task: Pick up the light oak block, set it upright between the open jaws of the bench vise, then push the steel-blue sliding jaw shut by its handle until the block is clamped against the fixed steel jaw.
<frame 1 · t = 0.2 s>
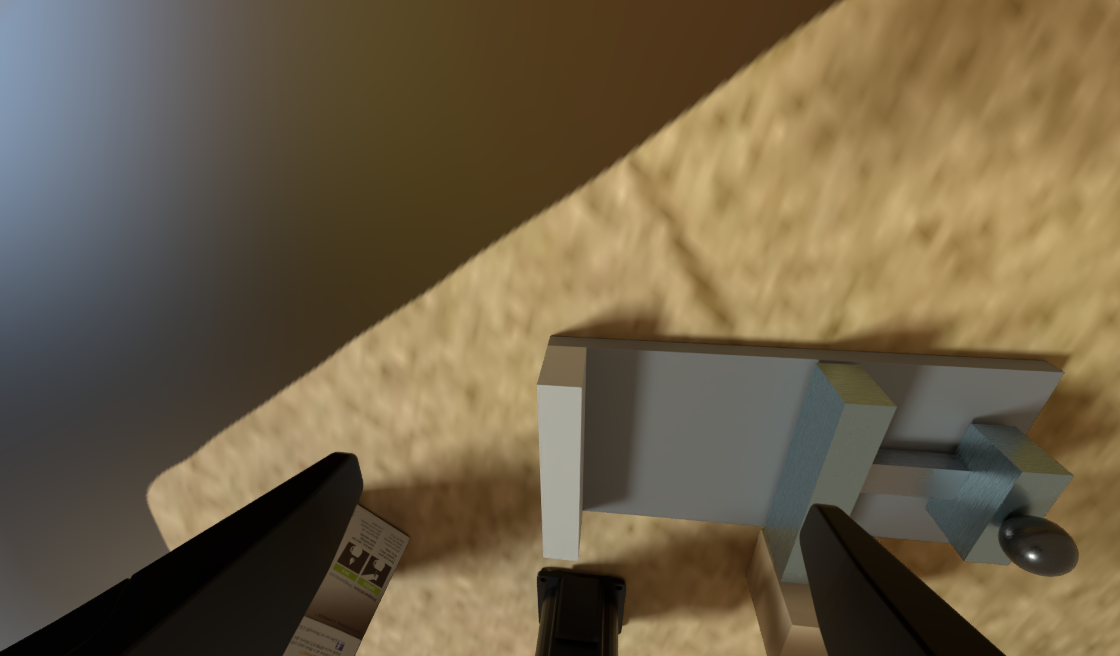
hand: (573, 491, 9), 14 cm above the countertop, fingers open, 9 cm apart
coffee box: (350, 538, 35), on the countertop
vise bed: (760, 438, 25), on the countertop
oak block: (807, 558, 30), on the countertop
sliding jaw: (918, 507, 21), point 4 cm above the countertop, slide at 0.0 cm
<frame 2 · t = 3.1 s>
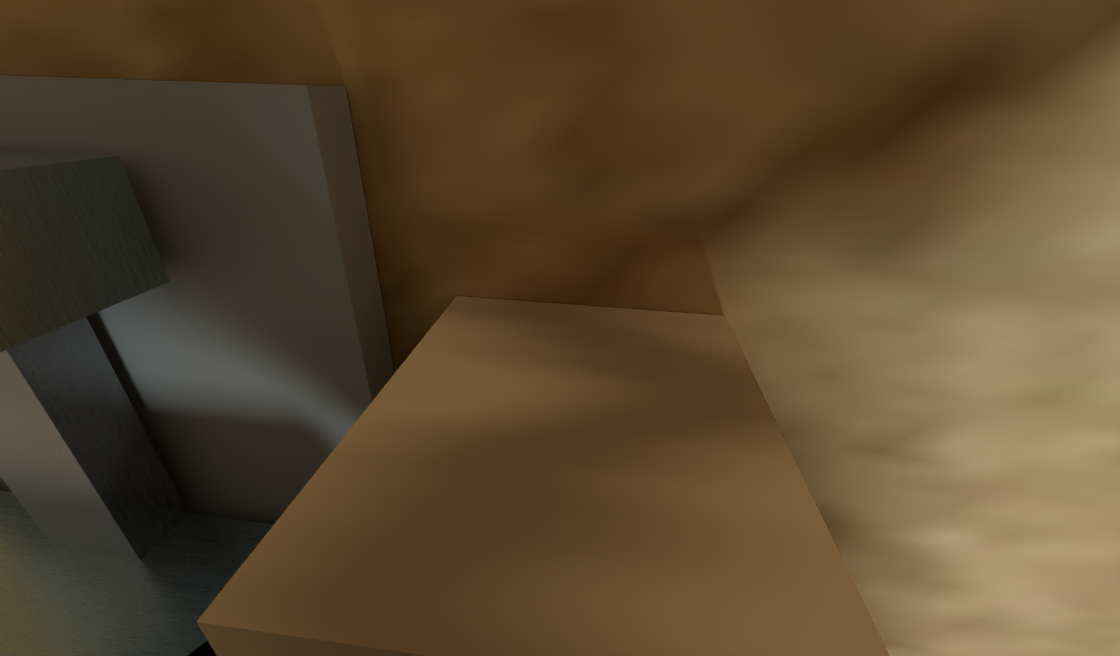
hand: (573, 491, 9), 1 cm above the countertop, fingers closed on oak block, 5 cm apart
vise bed: (230, 543, 13), on the countertop
oak block: (578, 448, 10), on the countertop, touching gripper
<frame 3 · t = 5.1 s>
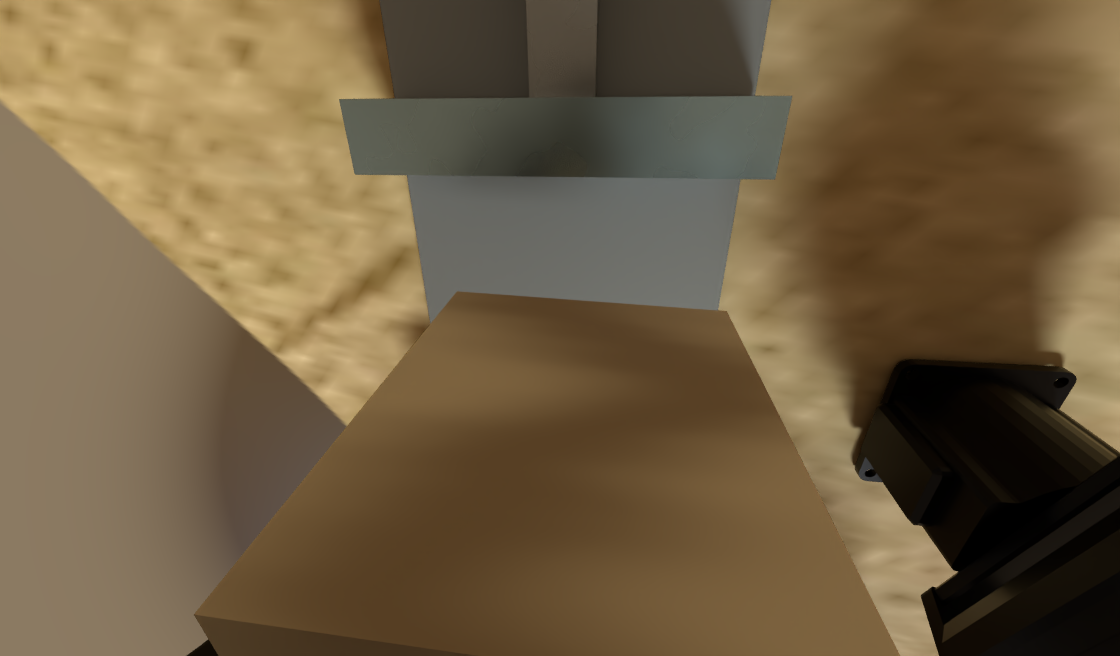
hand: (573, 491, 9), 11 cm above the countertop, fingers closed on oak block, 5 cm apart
vise bed: (569, 185, 17), on the countertop
oak block: (578, 444, 10), point 10 cm above the countertop, touching gripper
when the fingers open (3 cm above the countertop, at t = 7.2 s): oak block stays where it is, resting on vise bed.
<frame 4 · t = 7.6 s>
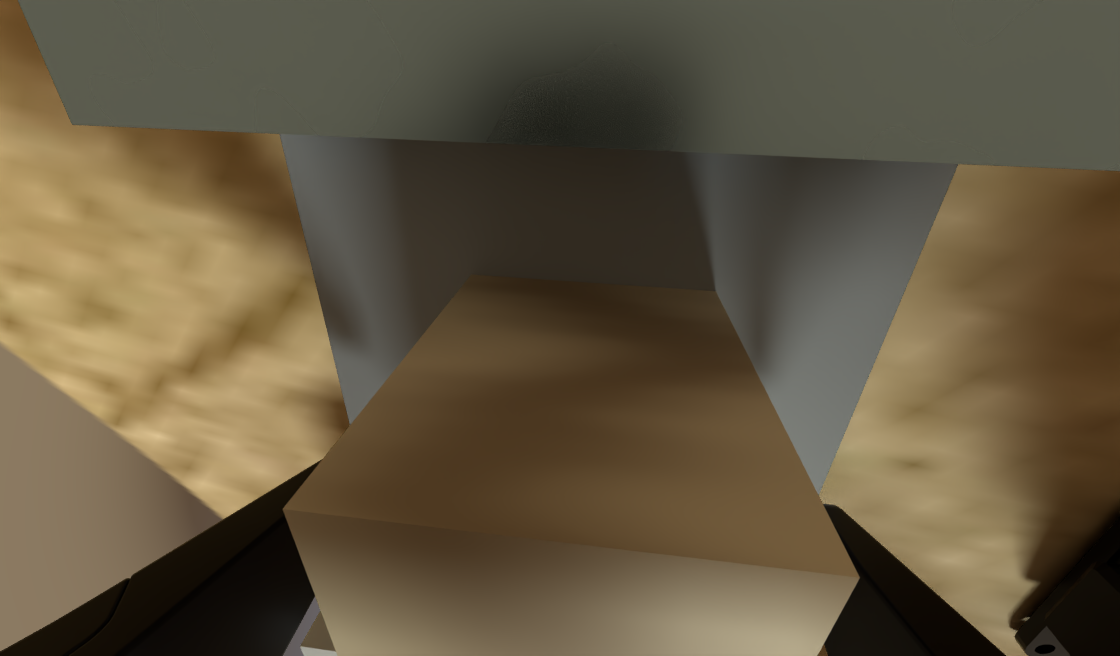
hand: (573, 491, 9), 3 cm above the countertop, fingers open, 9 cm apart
vise bed: (596, 176, 9), on the countertop
oak block: (581, 418, 11), point 1 cm above the countertop, touching vise bed
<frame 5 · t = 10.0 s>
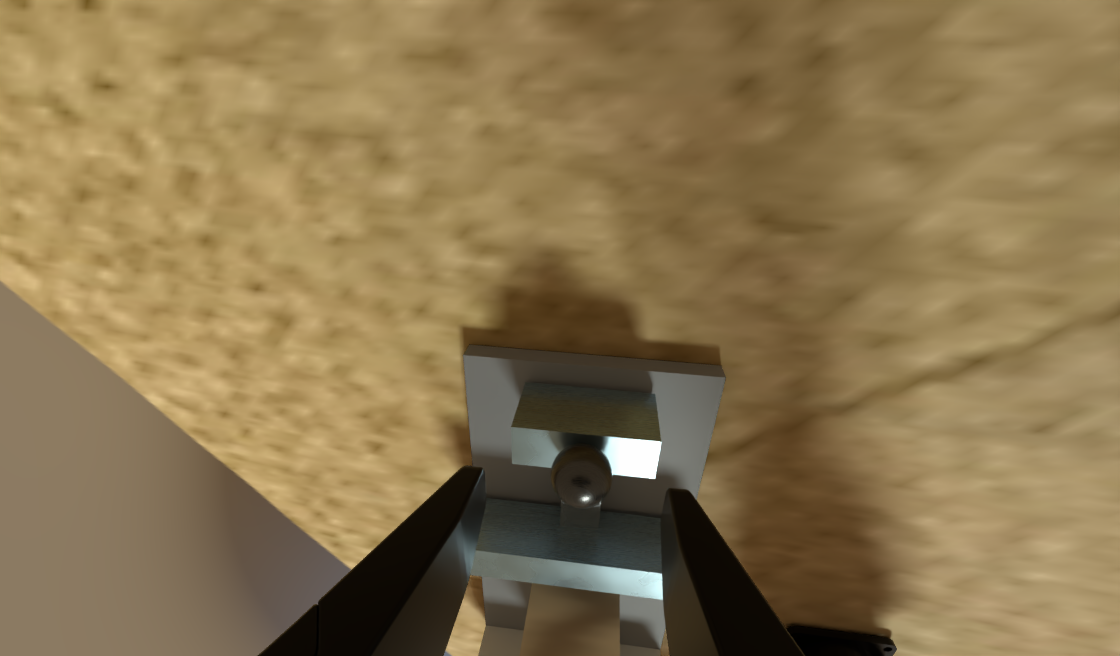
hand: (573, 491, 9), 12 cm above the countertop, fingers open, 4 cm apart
vise bed: (579, 525, 27), on the countertop
oak block: (575, 596, 29), point 1 cm above the countertop, touching vise bed
sliding jaw: (579, 511, 20), point 4 cm above the countertop, slide at 0.0 cm
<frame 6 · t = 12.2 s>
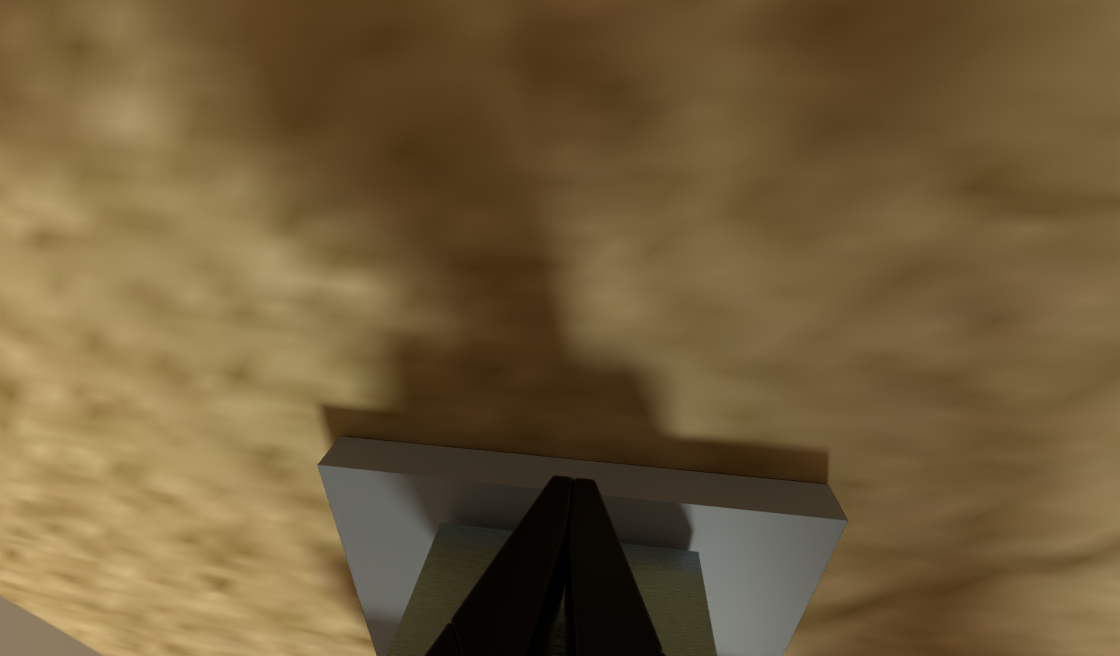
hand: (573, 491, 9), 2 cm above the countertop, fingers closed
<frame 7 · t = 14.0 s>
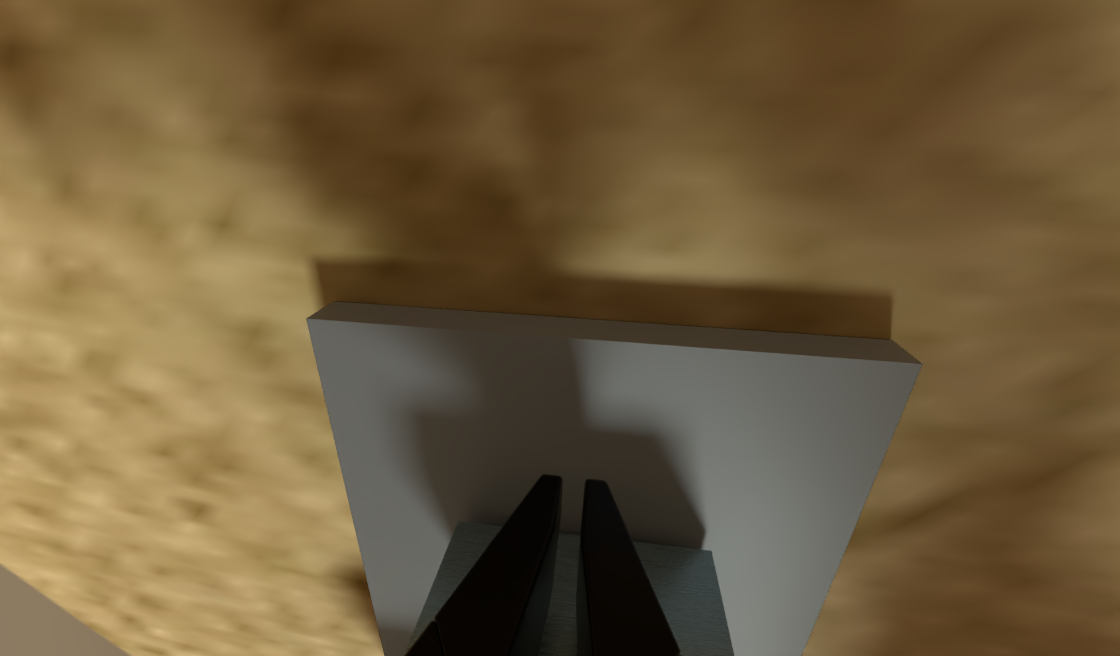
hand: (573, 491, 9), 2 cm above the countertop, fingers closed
vise bed: (574, 654, 15), on the countertop
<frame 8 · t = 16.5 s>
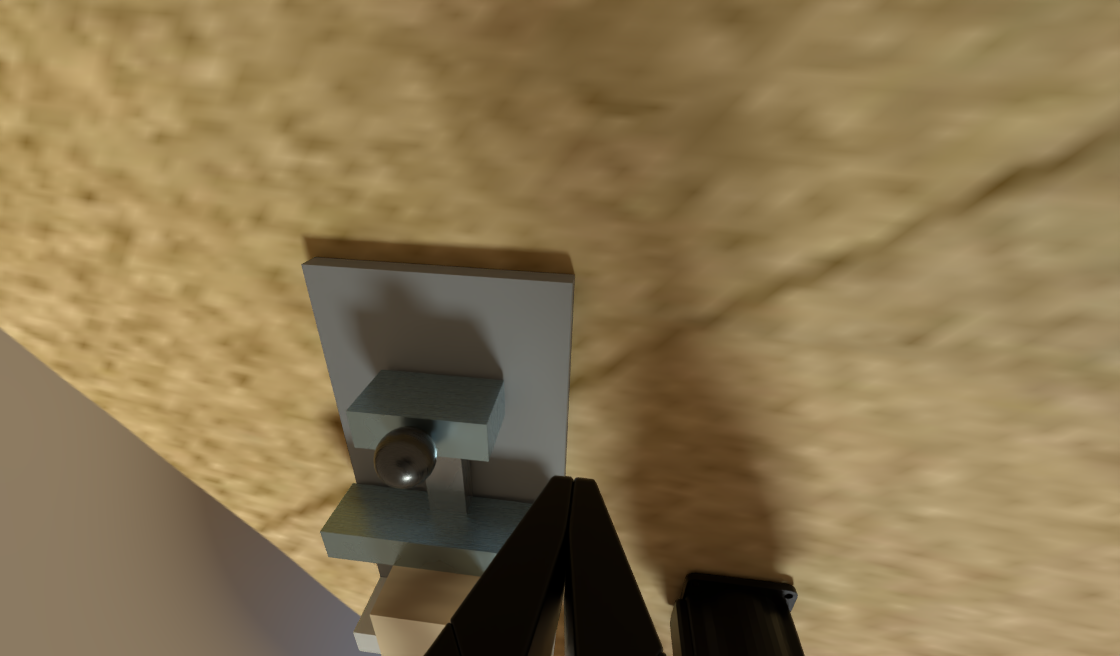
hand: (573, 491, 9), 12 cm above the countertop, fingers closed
vise bed: (461, 464, 26), on the countertop
oak block: (464, 553, 28), point 1 cm above the countertop, touching vise bed
sliding jaw: (431, 494, 21), point 4 cm above the countertop, slide at 4.0 cm
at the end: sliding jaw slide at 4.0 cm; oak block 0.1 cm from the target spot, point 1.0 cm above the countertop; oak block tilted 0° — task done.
